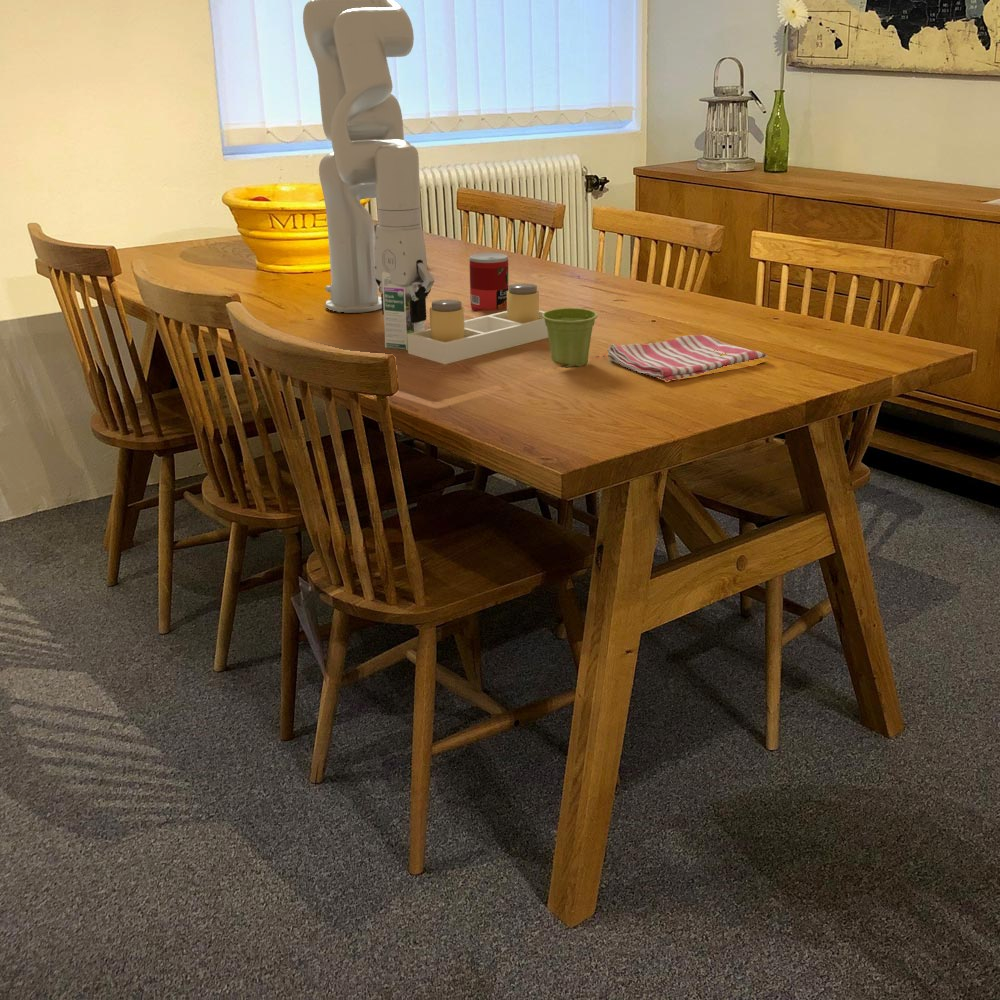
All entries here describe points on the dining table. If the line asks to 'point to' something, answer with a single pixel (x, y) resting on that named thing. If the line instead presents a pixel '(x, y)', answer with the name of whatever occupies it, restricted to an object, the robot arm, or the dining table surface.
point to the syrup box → (397, 314)
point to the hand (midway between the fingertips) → (404, 317)
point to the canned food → (488, 281)
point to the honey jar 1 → (447, 320)
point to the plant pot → (569, 334)
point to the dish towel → (680, 356)
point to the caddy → (477, 338)
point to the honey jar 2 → (522, 303)
